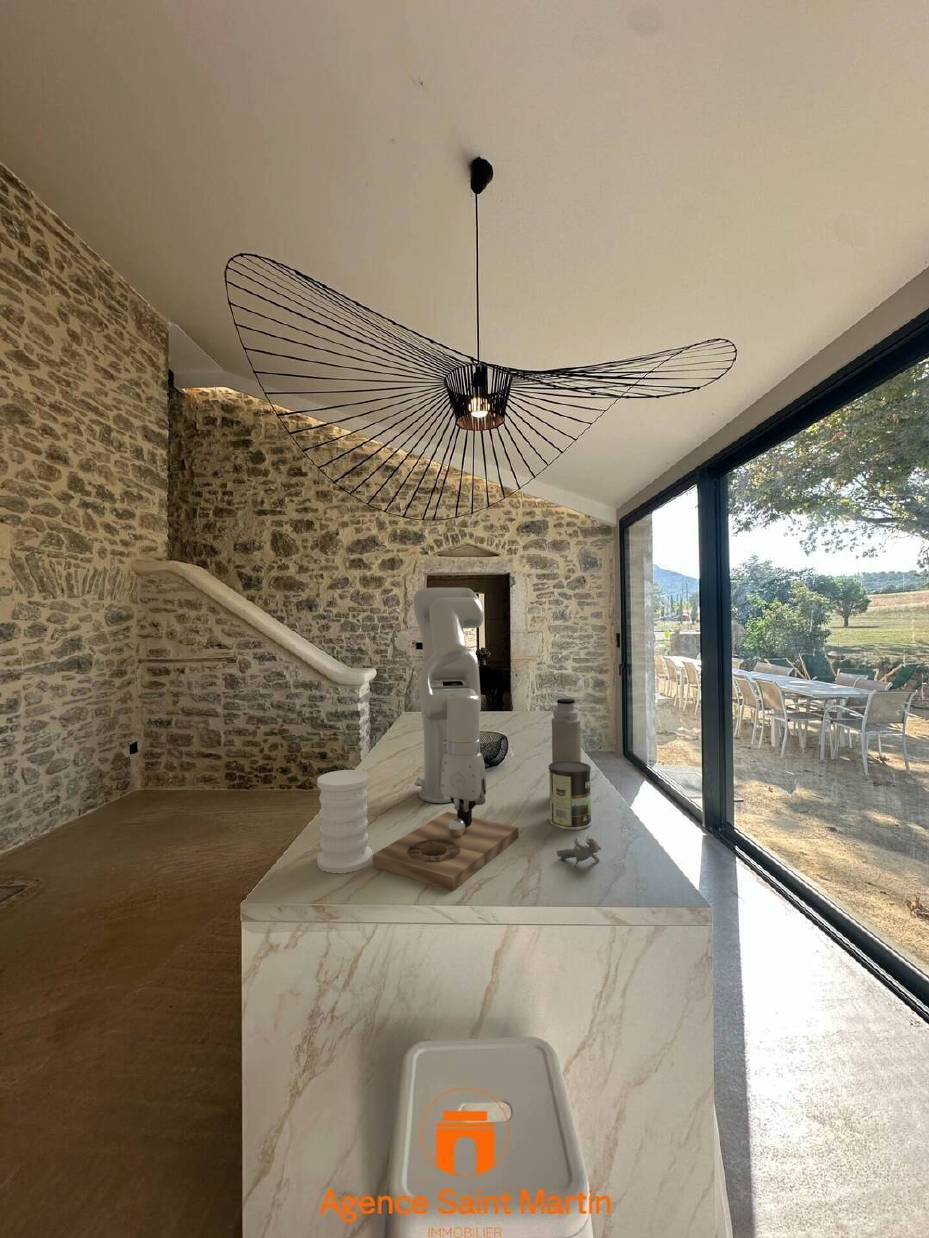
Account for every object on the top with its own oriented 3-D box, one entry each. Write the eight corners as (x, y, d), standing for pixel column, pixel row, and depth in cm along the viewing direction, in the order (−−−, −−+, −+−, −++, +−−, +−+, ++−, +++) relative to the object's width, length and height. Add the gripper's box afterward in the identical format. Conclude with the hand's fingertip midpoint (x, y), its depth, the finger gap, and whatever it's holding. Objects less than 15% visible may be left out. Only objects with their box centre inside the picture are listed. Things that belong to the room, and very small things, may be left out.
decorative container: (326, 849, 122) (324, 769, 122) (377, 848, 122) (375, 769, 122) (309, 873, 111) (308, 785, 110) (366, 873, 110) (364, 785, 110)
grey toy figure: (571, 850, 120) (609, 845, 115) (571, 878, 116) (610, 874, 111) (547, 831, 115) (585, 825, 110) (546, 860, 111) (585, 854, 106)
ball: (450, 834, 124) (442, 833, 121) (454, 816, 125) (446, 814, 122) (466, 839, 122) (458, 837, 119) (469, 820, 123) (462, 818, 120)
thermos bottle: (555, 792, 158) (554, 696, 158) (583, 794, 155) (581, 697, 155) (550, 801, 150) (549, 700, 150) (579, 804, 148) (578, 702, 147)
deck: (447, 821, 137) (447, 811, 137) (518, 837, 127) (518, 827, 126) (373, 866, 113) (372, 854, 113) (453, 890, 103) (452, 877, 103)
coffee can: (590, 815, 140) (590, 761, 139) (592, 831, 129) (591, 772, 129) (550, 813, 142) (549, 759, 142) (548, 828, 132) (547, 770, 131)
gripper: (427, 747, 126) (428, 825, 126) (483, 754, 118) (485, 838, 118) (445, 740, 132) (446, 815, 132) (499, 747, 124) (501, 827, 124)
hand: (464, 826), depth 125 cm, fingers closed
